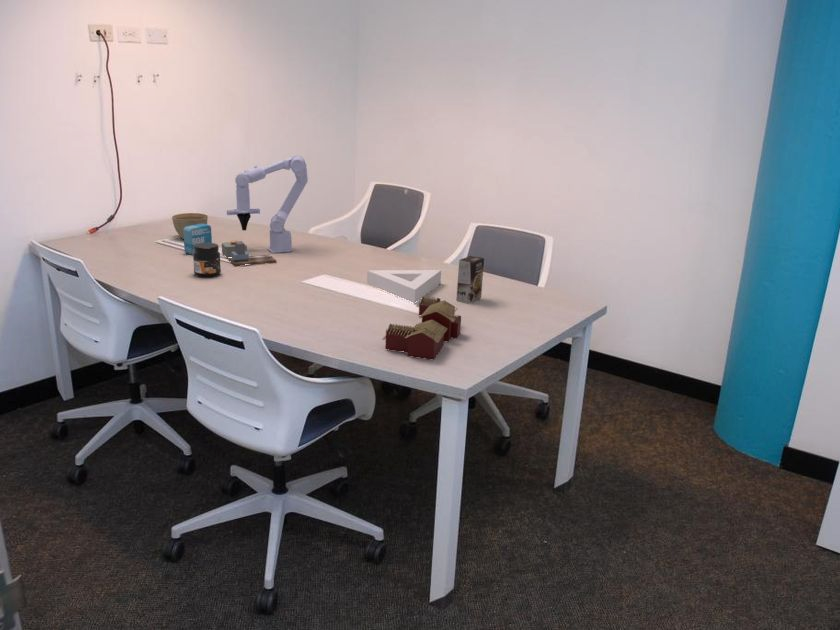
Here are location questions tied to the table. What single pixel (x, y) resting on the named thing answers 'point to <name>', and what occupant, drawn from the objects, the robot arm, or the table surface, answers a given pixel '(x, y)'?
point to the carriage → (239, 252)
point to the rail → (254, 260)
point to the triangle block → (405, 282)
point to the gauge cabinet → (229, 249)
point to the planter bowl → (188, 221)
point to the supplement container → (206, 260)
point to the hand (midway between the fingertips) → (244, 230)
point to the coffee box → (470, 279)
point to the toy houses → (425, 330)
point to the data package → (196, 236)
